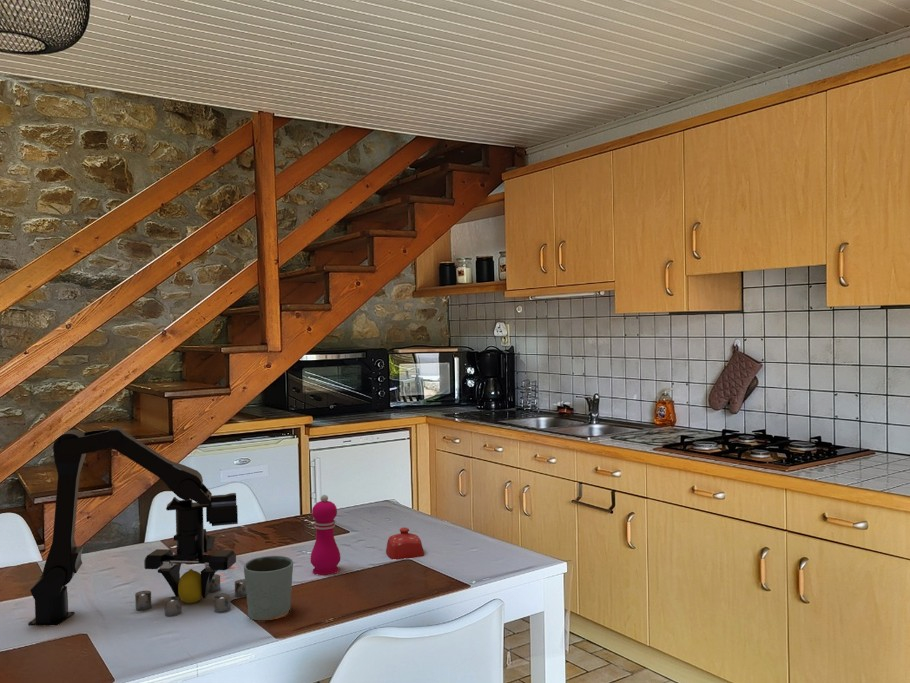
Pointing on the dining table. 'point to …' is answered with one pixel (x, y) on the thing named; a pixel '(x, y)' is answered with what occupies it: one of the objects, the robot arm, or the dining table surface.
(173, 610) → the spacers
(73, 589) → the dining table surface
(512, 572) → the dining table surface
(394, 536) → the butter dish
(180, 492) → the robot arm
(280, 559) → the grey ceramic cup
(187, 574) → the lemon
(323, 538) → the pepper mill
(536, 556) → the dining table surface
